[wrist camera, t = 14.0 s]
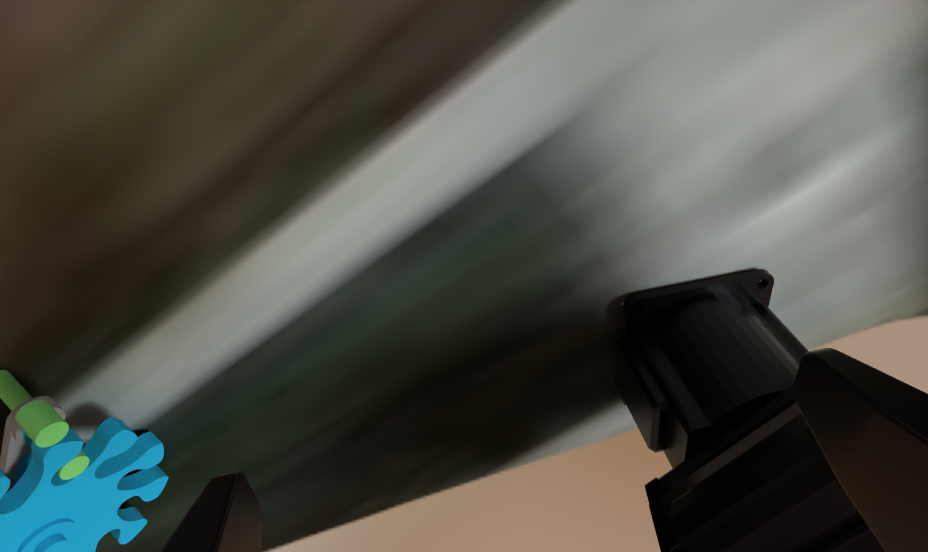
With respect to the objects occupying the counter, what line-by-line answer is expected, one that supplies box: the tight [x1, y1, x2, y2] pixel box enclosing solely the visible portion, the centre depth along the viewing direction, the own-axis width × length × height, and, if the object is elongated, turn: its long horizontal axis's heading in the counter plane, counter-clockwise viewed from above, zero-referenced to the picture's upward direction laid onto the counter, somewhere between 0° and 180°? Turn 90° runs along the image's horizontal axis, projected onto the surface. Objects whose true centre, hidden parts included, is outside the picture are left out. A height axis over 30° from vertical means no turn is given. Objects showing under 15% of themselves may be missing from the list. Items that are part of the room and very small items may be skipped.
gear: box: [0, 370, 169, 552], centre depth 23 cm, size 11×6×10 cm
